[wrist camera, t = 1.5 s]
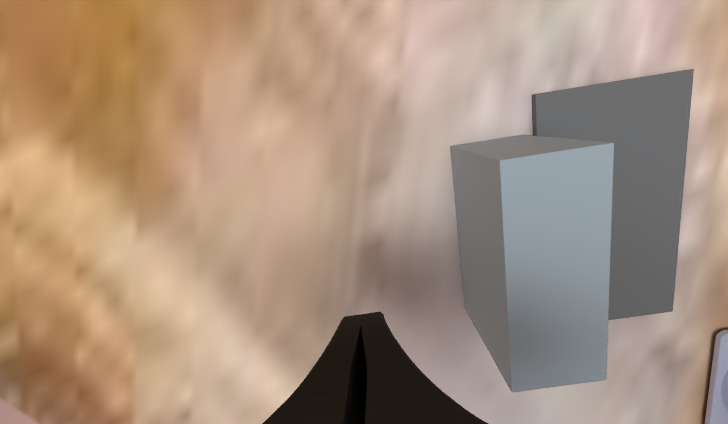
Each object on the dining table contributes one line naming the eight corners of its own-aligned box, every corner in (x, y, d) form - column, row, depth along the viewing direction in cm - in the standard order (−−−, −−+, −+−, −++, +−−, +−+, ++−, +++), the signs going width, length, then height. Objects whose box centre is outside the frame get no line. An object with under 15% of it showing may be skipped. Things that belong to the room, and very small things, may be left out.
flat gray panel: (686, 70, 18) (693, 69, 18) (667, 307, 21) (672, 311, 21) (532, 94, 18) (535, 94, 18) (538, 325, 22) (541, 329, 21)
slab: (522, 134, 19) (613, 142, 12) (528, 297, 21) (606, 379, 15) (450, 145, 19) (499, 160, 12) (464, 306, 21) (512, 392, 15)
